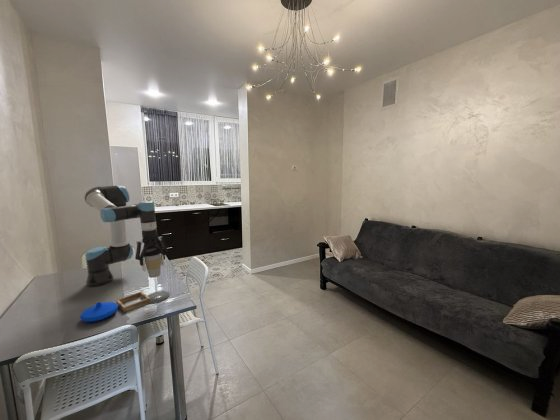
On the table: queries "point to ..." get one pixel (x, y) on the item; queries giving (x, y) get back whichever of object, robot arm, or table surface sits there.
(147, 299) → the wooden square frame
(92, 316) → the blue spouted lid
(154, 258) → the coffee cup
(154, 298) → the grey round plate
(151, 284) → the table surface
